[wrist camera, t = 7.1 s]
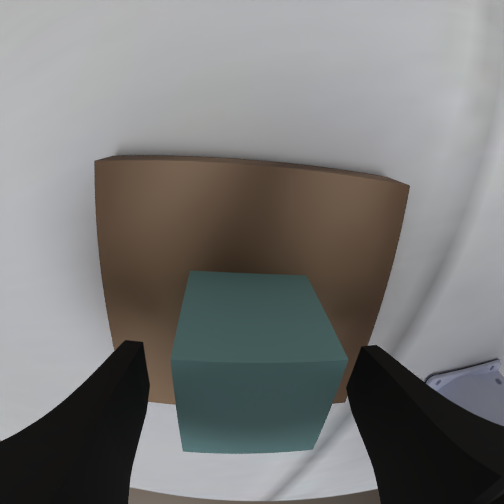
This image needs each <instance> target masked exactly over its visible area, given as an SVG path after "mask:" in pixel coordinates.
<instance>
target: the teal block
mask: <svg viewBox="0 0 504 504" xmlns="http://www.w3.org/2000/svg"><path fill="white" fill-rule="evenodd" d="M170 360H171V370H172V378H173V387H174V395H175V402H176V410H177V417H178V423H179V430H180V436H181V442H182V448H183V451H184V452H199V453H229V454H246V453H275V452H290V451H302V450H312V449H313V448H314V446H315V443H316V441H317V439H318V437H319V434H320V432H321V430H322V427H323V425H324V423H325V420H326V418H327V415H328V413H329V411H330V408H331V406H332V403H333V401H334V398H335V395H336V393H337V390H338V388H339V385H340V382H341V379H342V377H343V374H344V371H345V368H346V366H347V363H348V358H347V355H346V353H345V351H344V349H343V347H342V345H341V343H340V341H339V339H338V337H337V335H336V333H335V331H334V329H333V327H332V325H331V323H330V321H329V319H328V317H327V315H326V313H325V311H324V309H323V307H322V305H321V303H320V301H319V299H318V297H317V295H316V293H315V291H314V289H313V287H312V285H311V283H310V281H309V279H308V277H307V275H281V274H254V273H230V272H208V271H190V273H189V277H188V281H187V286H186V290H185V294H184V298H183V303H182V307H181V312H180V316H179V321H178V325H177V330H176V335H175V339H174V344H173V349H172V354H171V359H170Z"/></svg>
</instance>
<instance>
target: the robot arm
mask: <svg viewBox="0 0 504 504" xmlns="http://www.w3.org/2000/svg"><path fill="white" fill-rule="evenodd" d="M500 365H501V361H500V360H495V361H492V362H488V363H485V364H481V365H478V366H474V367H470V368H466V369H462V370H458V371H453V372H449V373H445V374H440V375H435V376H432V377H430V378H429V379H428V381H427V382H426V383H425V382H423V381H422V380H421V379H419V378H418V377H417V376H415V375H414V374H413V373H412V372H410V371H409V370H408V369H407V368H405V367H404V366H403V365H402V364H400V363H399V362H398V361H397V360H395V359H394V358H393V357H392V356H390V355H389V354H388V353H387V352H385V351H384V350H383V349H381V348H380V347H378V346H377V345H372V346H361V349H360V352H359V354H358V357H357V360H356V363H355V365H354V368H353V371H352V373H351V376H350V378H349V381H348V383H347V386H346V390H347V394H348V399H349V403H350V407H351V411H352V414H353V416H354V419H355V421H356V424H357V427H358V429H359V432H360V434H361V437H362V439H363V442H364V444H365V447H366V449H367V452H368V455H369V457H370V460H371V463H372V466H373V469H374V473H375V477H376V481H377V486H378V490H379V496H380V501H381V504H504V377H503V376H502V375H501V374H500V372H499V371H498V369H499V367H500ZM149 391H150V382H149V376H148V370H147V364H146V358H145V351H144V344H143V342H140V341H130V340H125V341H124V342H122V343H121V344H120V346H119V347H118V348H117V349H116V350H115V351H114V352H113V353H112V354H111V355H110V356H109V357H108V358H107V359H106V360H105V362H104V363H103V364H102V365H101V366H100V367H99V368H98V369H97V370H96V371H95V372H94V373H93V374H92V375H91V376H90V377H89V378H88V379H87V380H86V381H85V382H84V383H83V384H82V385H81V386H80V387H78V388H77V389H76V390H75V391H74V392H73V393H72V394H71V395H70V396H69V397H67V398H66V399H65V400H64V401H63V402H62V403H60V404H59V405H58V406H57V407H55V408H54V409H53V410H52V411H50V412H49V413H48V414H46V415H45V416H44V417H42V418H41V419H39V420H38V421H36V422H35V423H33V424H31V425H30V426H28V427H26V428H25V429H23V430H22V431H20V432H18V433H17V434H15V435H13V436H11V437H9V438H7V439H5V440H3V441H1V442H0V504H128V496H129V486H130V477H131V471H132V466H133V462H134V458H135V454H136V450H137V446H138V442H139V438H140V434H141V431H142V427H143V423H144V419H145V415H146V411H147V405H148V398H149Z"/></svg>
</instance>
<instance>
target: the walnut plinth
mask: <svg viewBox="0 0 504 504" xmlns="http://www.w3.org/2000/svg"><path fill="white" fill-rule="evenodd" d="M409 188H410V186H409V185H407V184H404V183H401V182H399V181H396V180H393V179H391V178H388V177H383V176H377V175H371V174H365V173H359V172H352V171H346V170H339V169H332V168H324V167H316V166H308V165H300V164H290V163H281V162H270V161H259V160H246V159H232V158H215V157H193V156H111V157H107V158H103V159H100V160H96V161H95V205H96V223H97V236H98V247H99V257H100V266H101V274H102V282H103V289H104V296H105V302H106V308H107V314H108V320H109V325H110V331H111V336H112V341H113V346H114V350H116V349H117V348H118V347H119V346H120V344H121V343H122V342H124V341H125V340H130V341H140V342H143V344H144V351H145V358H146V364H147V370H148V376H149V382H150V391H149V398H148V402H156V403H165V404H176V402H175V395H174V387H173V378H172V370H171V360H170V359H171V354H172V349H173V344H174V339H175V335H176V330H177V325H178V321H179V316H180V312H181V307H182V303H183V298H184V294H185V290H186V286H187V281H188V277H189V273H190V271H208V272H230V273H254V274H281V275H307V277H308V279H309V281H310V283H311V285H312V287H313V289H314V291H315V293H316V295H317V297H318V299H319V301H320V303H321V305H322V307H323V309H324V311H325V313H326V315H327V317H328V319H329V321H330V323H331V325H332V327H333V329H334V331H335V333H336V335H337V337H338V339H339V341H340V343H341V345H342V347H343V349H344V351H345V353H346V355H347V358H348V363H347V366H346V368H345V371H344V374H343V377H342V379H341V382H340V385H339V388H338V390H337V393H336V395H335V398H334V401H333V403H332V404H334V403H343V402H345V401H346V398H347V396H348V394H347V390H346V386H347V383H348V381H349V378H350V376H351V373H352V371H353V368H354V365H355V363H356V360H357V357H358V354H359V352H360V349H361V346H367V345H368V342H369V340H370V337H371V334H372V331H373V328H374V325H375V322H376V319H377V316H378V313H379V310H380V307H381V303H382V300H383V297H384V293H385V290H386V287H387V283H388V280H389V276H390V272H391V269H392V265H393V261H394V257H395V253H396V249H397V245H398V241H399V237H400V232H401V228H402V223H403V219H404V214H405V209H406V204H407V199H408V193H409Z"/></svg>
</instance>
